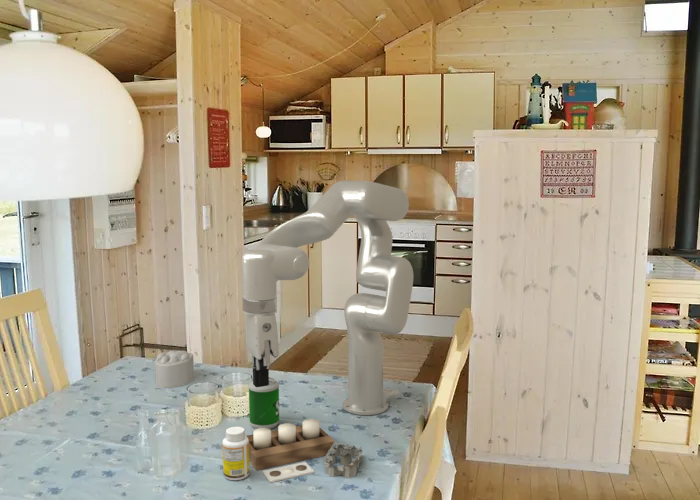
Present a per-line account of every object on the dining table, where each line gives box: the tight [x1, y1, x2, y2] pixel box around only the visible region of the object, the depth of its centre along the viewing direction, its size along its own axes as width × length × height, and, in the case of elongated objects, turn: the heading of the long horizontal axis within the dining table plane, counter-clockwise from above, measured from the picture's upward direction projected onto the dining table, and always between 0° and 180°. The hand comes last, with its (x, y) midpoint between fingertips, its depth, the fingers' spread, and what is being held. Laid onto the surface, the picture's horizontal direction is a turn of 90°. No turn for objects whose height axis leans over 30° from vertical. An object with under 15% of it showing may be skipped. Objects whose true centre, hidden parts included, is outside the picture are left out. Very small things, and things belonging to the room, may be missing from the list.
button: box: [301, 418, 320, 440], centre depth 154 cm, size 4×4×4 cm
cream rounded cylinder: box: [252, 428, 272, 450], centre depth 149 cm, size 4×4×4 cm
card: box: [262, 461, 315, 483], centre depth 142 cm, size 10×5×1 cm, turn 116°
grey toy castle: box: [322, 441, 364, 479], centre depth 144 cm, size 11×8×4 cm
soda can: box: [248, 376, 280, 430], centre depth 166 cm, size 8×8×12 cm
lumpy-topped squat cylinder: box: [154, 350, 195, 389], centre depth 200 cm, size 10×13×9 cm
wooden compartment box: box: [245, 424, 336, 471], centre depth 152 cm, size 19×12×3 cm, turn 116°
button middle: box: [277, 422, 297, 445], centre depth 152 cm, size 4×4×4 cm
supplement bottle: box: [221, 426, 250, 481], centre depth 140 cm, size 6×6×10 cm
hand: (260, 385), depth 147 cm, fingers closed
